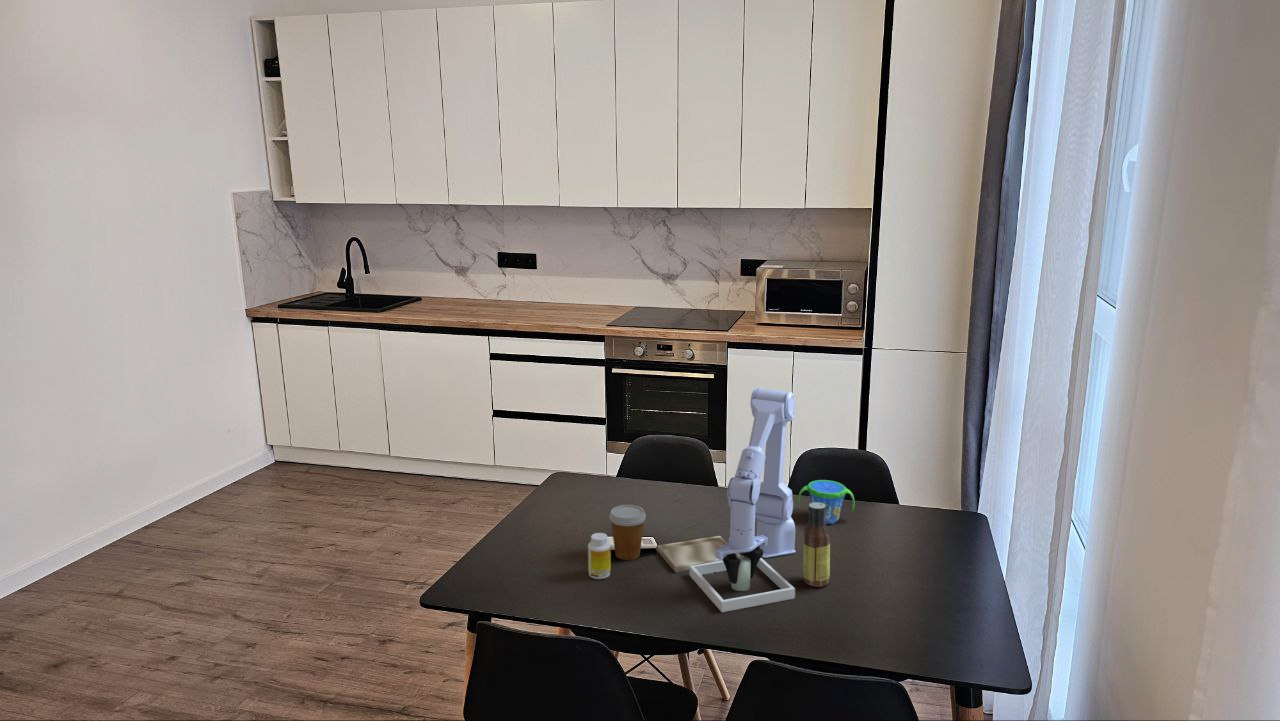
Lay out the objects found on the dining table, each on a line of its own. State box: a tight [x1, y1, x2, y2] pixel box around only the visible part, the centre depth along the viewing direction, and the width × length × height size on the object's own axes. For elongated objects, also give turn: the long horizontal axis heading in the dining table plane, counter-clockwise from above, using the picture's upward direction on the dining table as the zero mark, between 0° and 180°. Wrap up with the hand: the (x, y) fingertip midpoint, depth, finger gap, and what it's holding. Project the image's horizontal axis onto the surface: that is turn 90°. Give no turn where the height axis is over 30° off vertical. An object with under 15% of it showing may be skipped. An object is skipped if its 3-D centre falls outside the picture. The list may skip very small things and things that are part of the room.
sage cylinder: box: [730, 555, 751, 592], centre depth 198 cm, size 4×4×7 cm
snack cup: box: [797, 479, 856, 525], centre depth 235 cm, size 16×10×10 cm
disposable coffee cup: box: [608, 504, 647, 561], centre depth 213 cm, size 10×10×12 cm
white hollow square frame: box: [689, 557, 796, 613], centre depth 198 cm, size 19×19×2 cm
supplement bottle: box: [587, 532, 612, 580], centre depth 203 cm, size 6×6×10 cm
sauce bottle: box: [802, 502, 831, 588], centre depth 198 cm, size 6×6×20 cm
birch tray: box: [656, 535, 742, 574], centre depth 214 cm, size 18×13×2 cm
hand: (740, 579), depth 198 cm, fingers closed on sage cylinder, 4 cm apart
